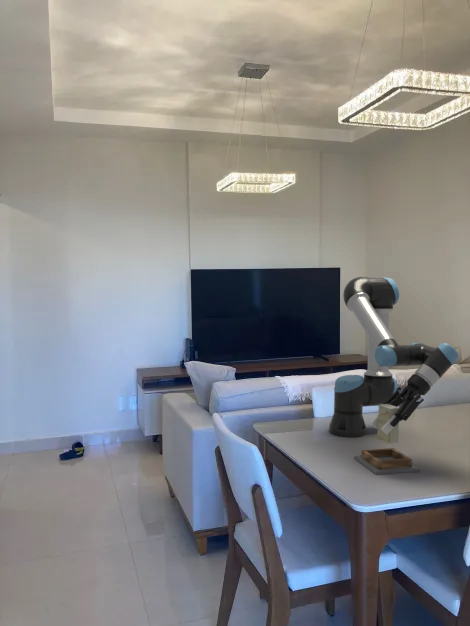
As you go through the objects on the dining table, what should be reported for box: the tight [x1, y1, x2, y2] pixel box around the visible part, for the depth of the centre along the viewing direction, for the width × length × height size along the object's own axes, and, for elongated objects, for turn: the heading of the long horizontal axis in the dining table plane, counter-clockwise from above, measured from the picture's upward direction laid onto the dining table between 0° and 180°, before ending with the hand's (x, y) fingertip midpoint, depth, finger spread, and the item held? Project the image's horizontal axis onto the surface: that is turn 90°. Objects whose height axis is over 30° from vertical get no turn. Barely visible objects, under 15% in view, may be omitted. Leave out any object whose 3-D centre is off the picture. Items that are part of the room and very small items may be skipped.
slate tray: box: [353, 454, 420, 475], centre depth 188 cm, size 16×16×1 cm
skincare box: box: [376, 404, 400, 444], centre depth 186 cm, size 6×4×12 cm
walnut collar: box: [360, 447, 413, 469], centre depth 188 cm, size 12×12×2 cm
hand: (378, 429), depth 186 cm, fingers closed on skincare box, 7 cm apart
